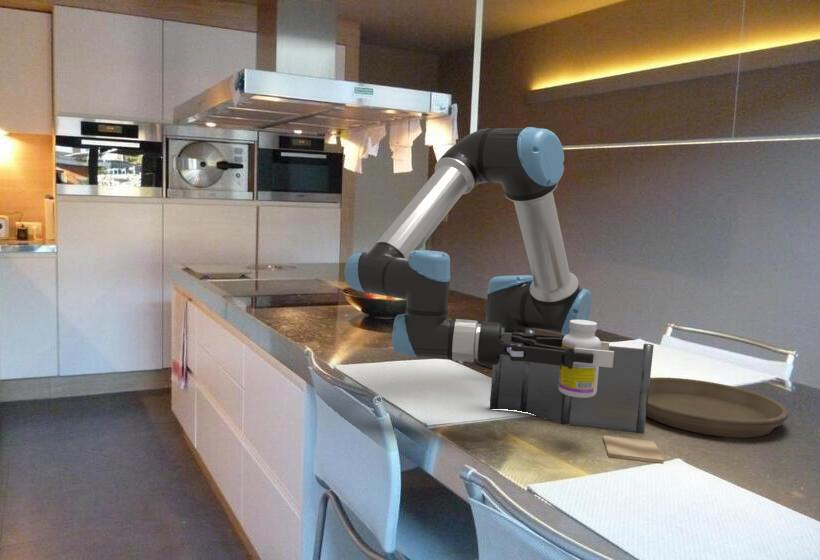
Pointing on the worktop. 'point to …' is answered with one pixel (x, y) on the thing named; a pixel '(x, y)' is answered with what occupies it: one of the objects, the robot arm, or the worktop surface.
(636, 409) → the grey ribbed panel
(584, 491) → the worktop surface
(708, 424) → the plant saucer
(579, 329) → the supplement bottle
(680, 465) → the worktop surface
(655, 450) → the coaster
